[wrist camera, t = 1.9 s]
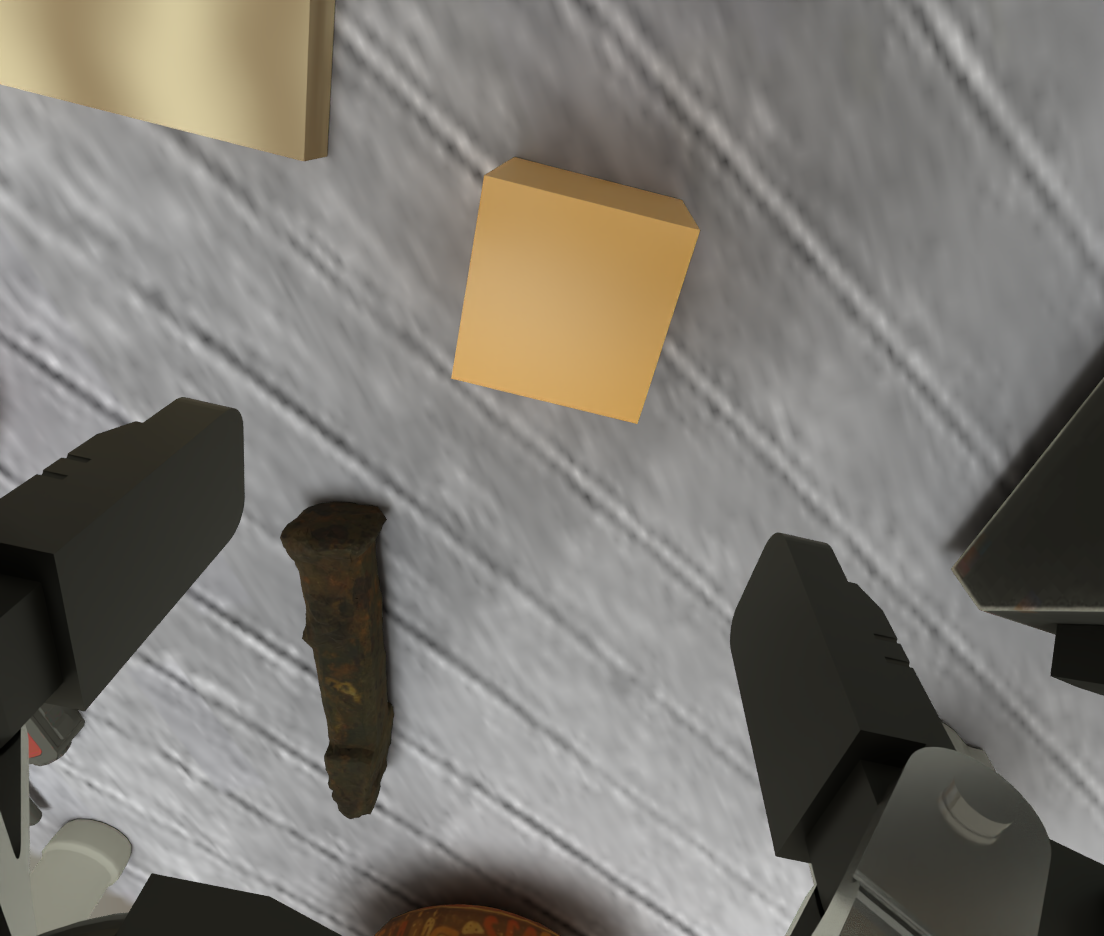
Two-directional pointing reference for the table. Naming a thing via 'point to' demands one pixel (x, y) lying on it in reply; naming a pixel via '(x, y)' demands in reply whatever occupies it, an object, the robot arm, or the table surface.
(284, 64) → the cream base with peg
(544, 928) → the bowl
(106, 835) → the bottle
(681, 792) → the table surface
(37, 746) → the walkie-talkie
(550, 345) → the mustard yellow cube
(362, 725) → the hand tool
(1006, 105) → the table surface
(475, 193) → the table surface
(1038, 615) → the voltmeter
